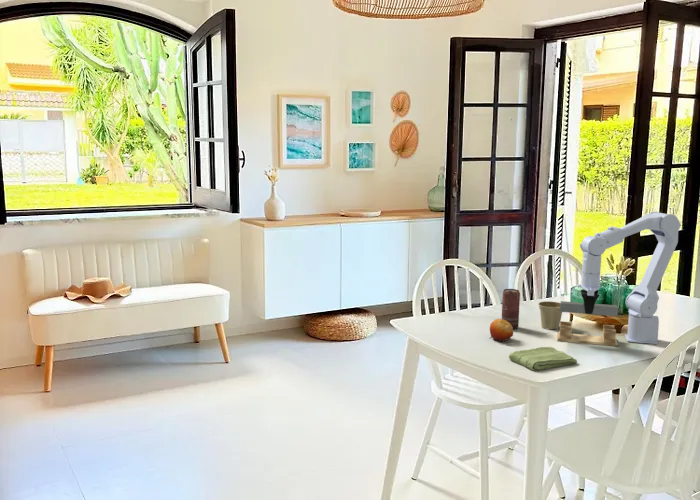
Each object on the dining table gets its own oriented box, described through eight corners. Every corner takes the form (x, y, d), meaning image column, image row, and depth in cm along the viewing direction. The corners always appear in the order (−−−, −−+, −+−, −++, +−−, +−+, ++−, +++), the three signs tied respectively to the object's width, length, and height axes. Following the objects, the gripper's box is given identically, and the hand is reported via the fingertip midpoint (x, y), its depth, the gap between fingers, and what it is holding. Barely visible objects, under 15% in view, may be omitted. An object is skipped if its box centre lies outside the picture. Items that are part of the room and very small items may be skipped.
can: (512, 331, 234) (514, 292, 232) (497, 327, 239) (499, 289, 236) (522, 327, 238) (524, 290, 236) (507, 324, 242) (509, 287, 240)
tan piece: (615, 339, 224) (616, 325, 223) (617, 346, 217) (618, 331, 216) (557, 334, 229) (558, 320, 228) (557, 340, 222) (558, 326, 221)
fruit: (492, 329, 230) (503, 313, 226) (509, 345, 226) (520, 328, 222) (479, 334, 225) (490, 317, 221) (496, 350, 221) (507, 333, 217)
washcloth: (579, 365, 199) (579, 355, 199) (533, 373, 192) (534, 363, 191) (549, 352, 211) (550, 343, 210) (505, 360, 204) (505, 350, 203)
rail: (616, 314, 218) (617, 305, 217) (617, 316, 215) (617, 307, 215) (560, 309, 223) (560, 301, 223) (560, 311, 221) (560, 303, 220)
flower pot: (565, 331, 233) (566, 308, 232) (537, 330, 235) (539, 306, 234) (562, 324, 242) (563, 302, 241) (536, 323, 244) (537, 300, 243)
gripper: (577, 267, 225) (575, 306, 227) (578, 275, 211) (576, 316, 214) (599, 269, 223) (597, 307, 225) (602, 277, 209) (599, 318, 211)
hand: (588, 312), depth 219 cm, fingers closed on rail, 3 cm apart
